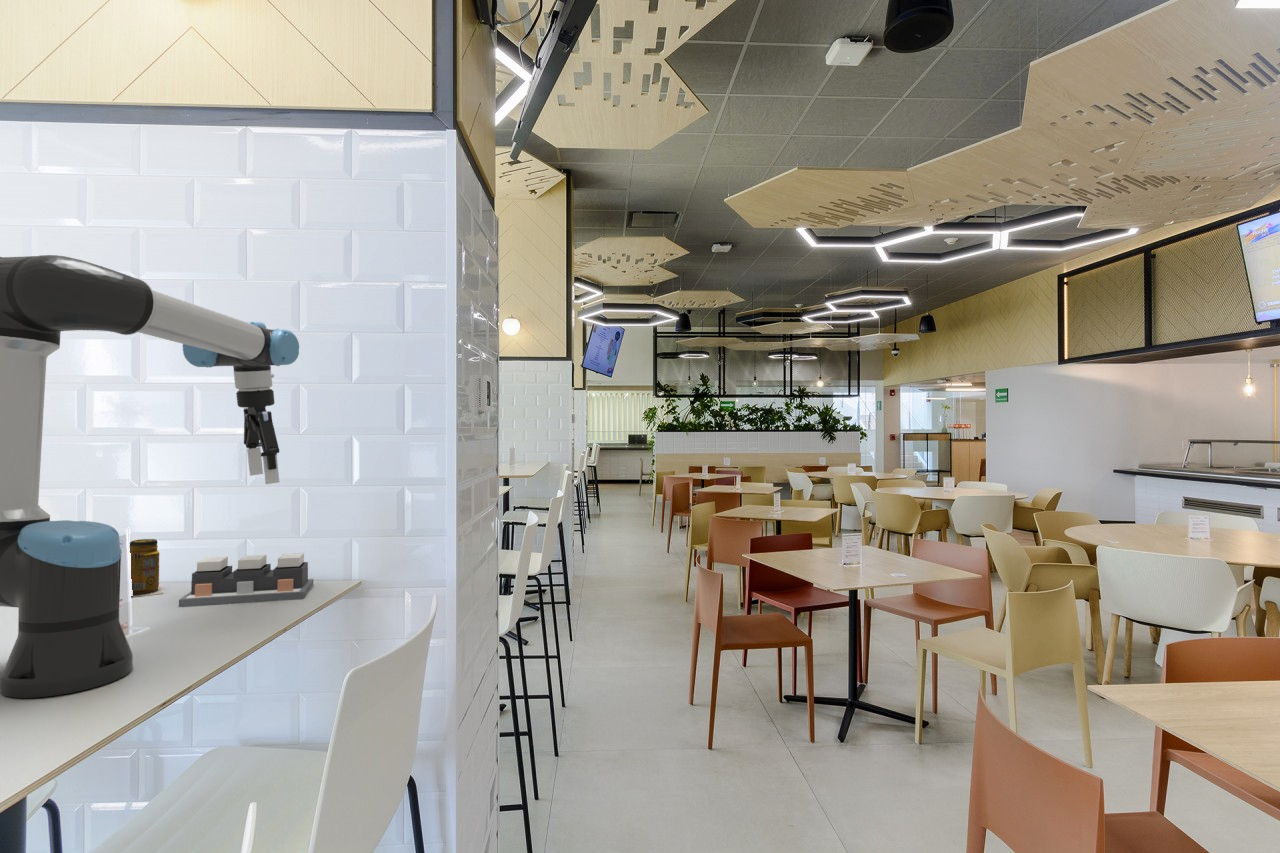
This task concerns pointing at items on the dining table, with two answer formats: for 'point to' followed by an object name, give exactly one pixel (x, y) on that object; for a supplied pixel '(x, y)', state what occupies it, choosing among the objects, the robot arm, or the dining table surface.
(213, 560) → the button left
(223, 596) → the switch unit
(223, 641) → the dining table surface
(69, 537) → the robot arm
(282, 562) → the button right
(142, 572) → the condiment
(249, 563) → the button mid
